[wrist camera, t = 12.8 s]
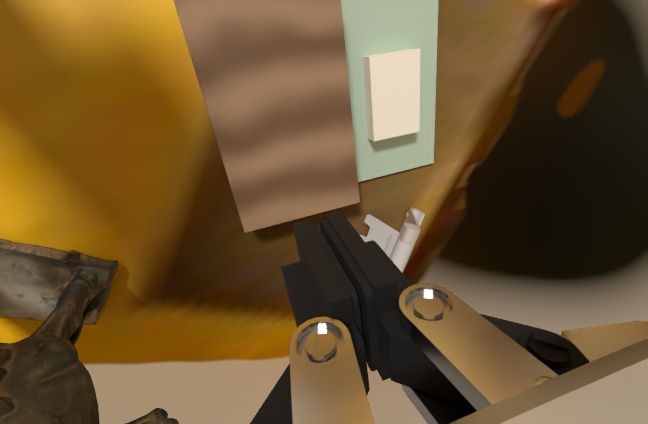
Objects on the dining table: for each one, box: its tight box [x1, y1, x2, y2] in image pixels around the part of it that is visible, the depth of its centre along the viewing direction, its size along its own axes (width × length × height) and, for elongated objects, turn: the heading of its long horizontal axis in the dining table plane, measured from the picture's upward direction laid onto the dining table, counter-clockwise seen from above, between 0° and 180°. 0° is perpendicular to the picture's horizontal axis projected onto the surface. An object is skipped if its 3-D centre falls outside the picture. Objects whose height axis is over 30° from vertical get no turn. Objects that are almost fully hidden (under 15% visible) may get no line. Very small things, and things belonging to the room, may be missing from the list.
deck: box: [174, 0, 360, 233], centre depth 33 cm, size 22×14×4 cm, turn 9°
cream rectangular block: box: [362, 49, 420, 141], centre depth 36 cm, size 9×6×2 cm, turn 8°
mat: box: [341, 0, 438, 182], centre depth 37 cm, size 20×12×1 cm, turn 9°
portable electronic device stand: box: [360, 208, 425, 273], centre depth 42 cm, size 9×8×8 cm
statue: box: [0, 239, 179, 424], centre depth 25 cm, size 25×10×25 cm, turn 62°
